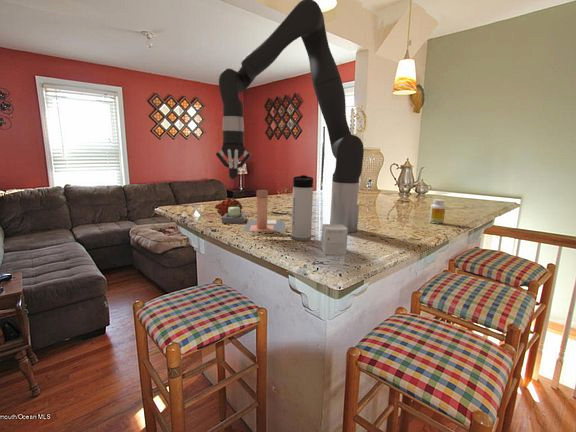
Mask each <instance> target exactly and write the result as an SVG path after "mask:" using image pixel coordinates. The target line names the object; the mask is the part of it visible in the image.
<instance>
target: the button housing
mask: <svg viewBox="0 0 576 432" xmlns="http://www.w3.org/2000/svg"><path fill="white" fill-rule="evenodd" d="M246 220H247V214H246V213H240V217H228V213H225V214H223V216H222V217H221V223H222V224H245V221H246Z"/></svg>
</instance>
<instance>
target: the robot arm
mask: <svg viewBox="0 0 576 432" xmlns="http://www.w3.org/2000/svg"><path fill="white" fill-rule="evenodd" d="M326 31H327V30H326V24H325V18H324V14H323V12H322V9H321V7H320V5H319V3H317V2H316V1H315V0H301V1H299V2H298V3H296V5H294V7H293V8H292V9H291V10H290V12H289V13H288V14H287V15H286V16H285V18H284V19H283V20H282V21H281V23H280V24H278V26H277V27H276V28H274V30H273V31H272V32H271V33H269V35H268V36H267V37H266V38H265V39H264V40H263V41H262V42H260V43H259V44H258V45H257V46H256V47H255V48H253V49H252V50H251V51H250V52H249V53H248V54H246V55H245V56H244V57H242V59H241V63H240V64H241V66H240V68H238V70H237V71H236V70H234V69H233V68H225V69H222V71H221V72H220V74H219V78H218V88H219V93H220V97H221V101H222V146H221V150H219V151H218V152H216V153H215V155H216V156H217V159H219V161H220V162H221V164H222V165H223V166H224V167H226V168H228V170H229V172H228V173H229V175H228V176H229V178H231V179H232V180H236V179H237V178H238V177H239V168H242V167H243V166H244V165H245V164H246V163H247V162H248V160H249V159H250V157H251V156H252V154H251V153H250V152H248V151H247V150H246V146H245V124H244V123H245V122H244V105H243V104H244V103H243V102H242V100H241V99H240V96H239V94H241V93H243V92H244V91H245V90H246V89H248V87H250V85H251V84H252V83H253V82H254V81H255V79H256V77H257V76H259V75H260V74H261V73H262V72H264V71H265V70H267V68H269V67H270V66H271V65H272V64H273V63H274V62H275V61H276V60H277V58H278V57H279V56H280V54H281V53H282V52H283V51H284V50H285V49H286V48H287V47H288V46H290V45H291V44H292V43H293V42H294V41H296V40H298V39H299V38H301V40H302V43H303V45H304V47H305V51H306V54H307V56H308V57H307V58H308V61H309V69H310V70H309V71H310V77H311V82H312V87H313V90H314V93H315V96H316V99H317V102H318V105H319V108H320V111H321V114H322V116H323V120H324V122H325V124H326V125H325V126H326V129H327V134H328V137H329V143H330V149H331V153H332V155H333V156H334V158H335V160H336V161H335V168H334V172H333V173H332V181H331V182H332V183H331V196H330V197H331V198H330V199H331V200H330V216H329V218H330V219H329V220H330V221H329V224H338V225H344V226H345V227H346V228H347V229H348V234H349V233H356V232H358V226H359V225H358V224H359V208H360V205H359V204H358V201H359V200H358V199H359V198H358V197H359V185H360V177H361V175H362V171H363V161H364V142H363V141H362V140H361V138H360V137H358V136H357V135H355V134H352V132H351V130H350V127H349V124H348V120H347V113H346V111H347V109H346V107H347V106H346V94H345V89H344V86H343V85H344V84H343V81H342V78H341V75H340V72H339V69H338V66H337V63H336V61H335V58H334V56H333V54H332V52H331V49H330V46H329V41H328V36H327V32H326ZM224 155H225V157H226V158H227V159H228V162H227V160H226V159H225V158H224ZM242 156H243V159H242V160H241V161H239V160H240V158H241V157H242Z"/></svg>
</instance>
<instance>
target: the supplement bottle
mask: <svg viewBox="0 0 576 432" xmlns="http://www.w3.org/2000/svg"><path fill="white" fill-rule="evenodd" d="M432 203H433V204H431V205H430V211H429V219H428V220H429V221H428V222H429V223H430V222H432V223H443V224H444V221H445V220H444V219H445V215H446V214H445V213H446V206H445V205H444V204H445V200H444V199H441V198H440V199H439V198H434V199H433V201H432ZM432 223H431V224H432Z"/></svg>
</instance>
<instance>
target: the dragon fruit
mask: <svg viewBox="0 0 576 432" xmlns="http://www.w3.org/2000/svg"><path fill="white" fill-rule="evenodd" d="M229 207H240V214H242V209H243V205H242V204H241V202H240V201H239V200H237V199H235V198H234V197H231V198H229V197H227V198H224V200H222V201H221V202H220V203H218V204H216V205H215V206H214V209H215V210H217V213H218V214H219V215H224V214H225V213H228V208H229Z"/></svg>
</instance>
